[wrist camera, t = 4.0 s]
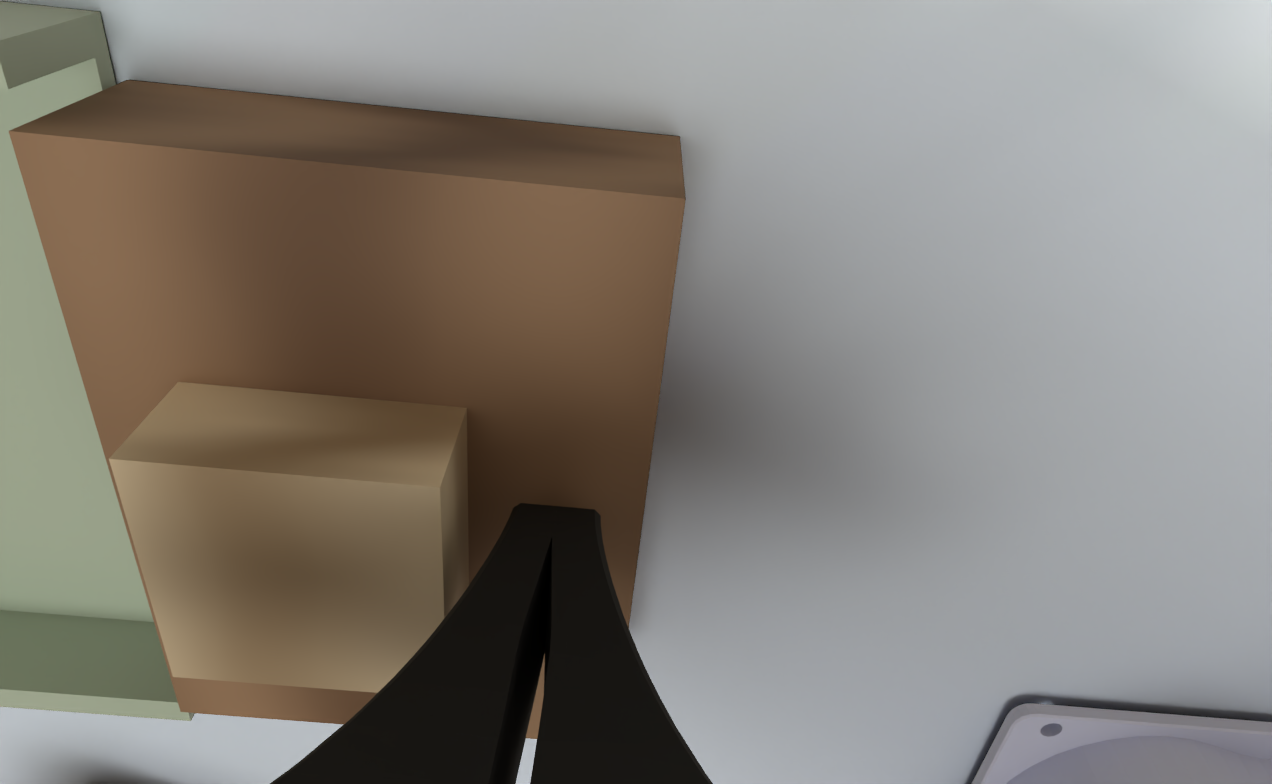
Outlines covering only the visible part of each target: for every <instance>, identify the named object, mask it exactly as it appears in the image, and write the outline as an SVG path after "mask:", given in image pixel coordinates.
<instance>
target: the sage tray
mask: <svg viewBox="0 0 1272 784" xmlns="http://www.w3.org/2000/svg"><path fill="white" fill-rule="evenodd" d="M114 85H116V82H115V78H114V73H113V69H112V64H111V60H110V55H109V51H108V46H107V42H106V37H105V33H104V28H103V24H102V19H101V15H100V12H96V11H87V10H78V9H68V8H59V7H49V6H40V5H30V4H21V3H11V2H2V1H0V707H13V708H26V709H39V710H53V711H66V712H79V713H92V714H106V715H119V716H132V717H145V718H159V719H172V720H185V721H191V719H192V718H193V716H194V714H195V713H188V712H180V708H179V705H178V701H177V698H176V695H175V691H174V688H173V685H172V681H171V678H170V674H169V671H168V668H167V664H166V661H165V658H164V654H163V651H162V647H161V644H160V641H159V637H158V634H157V631H156V627H155V624H154V620H153V617H152V614H151V610H150V607H149V604H148V600H147V597H146V593H145V590H144V587H143V583H142V580H141V577H140V573H139V570H138V566H137V563H136V560H135V556H134V553H133V550H132V546H131V543H130V539H129V536H128V533H127V529H126V526H125V523H124V519H123V516H122V512H121V509H120V506H119V502H118V499H117V496H116V492H115V489H114V485H113V482H112V479H111V475H110V472H109V469H108V465H107V462H106V458H105V455H104V452H103V448H102V445H101V442H100V438H99V435H98V431H97V428H96V425H95V421H94V418H93V415H92V411H91V408H90V404H89V401H88V398H87V394H86V391H85V388H84V384H83V381H82V377H81V374H80V371H79V367H78V364H77V361H76V357H75V354H74V351H73V347H72V344H71V340H70V337H69V334H68V330H67V327H66V324H65V320H64V317H63V313H62V310H61V307H60V303H59V300H58V297H57V293H56V290H55V286H54V283H53V280H52V276H51V273H50V270H49V266H48V263H47V259H46V256H45V253H44V249H43V246H42V243H41V239H40V236H39V232H38V229H37V226H36V222H35V219H34V216H33V212H32V209H31V205H30V202H29V199H28V195H27V192H26V189H25V185H24V182H23V178H22V175H21V172H20V168H19V165H18V162H17V158H16V155H15V151H14V148H13V145H12V141H11V138H10V135H9V131H10V130H12V129H14V128H17V127H19V126H21V125H24V124H26V123H28V122H31V121H33V120H35V119H38V118H40V117H42V116H44V115H47V114H49V113H51V112H54V111H56V110H58V109H61V108H63V107H65V106H68V105H70V104H72V103H75V102H77V101H79V100H82V99H84V98H86V97H89V96H91V95H93V94H96V93H98V92H100V91H103V90H105V89H107V88H109V87H112V86H114Z"/></svg>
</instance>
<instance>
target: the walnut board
mask: <svg viewBox="0 0 1272 784" xmlns="http://www.w3.org/2000/svg"><path fill="white" fill-rule="evenodd" d="M9 135H10V138H11V141H12V145H13V148H14V151H15V155H16V158H17V162H18V165H19V168H20V172H21V175H22V178H23V182H24V185H25V189H26V192H27V195H28V199H29V202H30V205H31V209H32V212H33V216H34V219H35V222H36V226H37V229H38V232H39V236H40V239H41V243H42V246H43V249H44V253H45V256H46V259H47V263H48V266H49V270H50V273H51V276H52V280H53V283H54V286H55V290H56V293H57V297H58V300H59V303H60V307H61V310H62V313H63V317H64V320H65V324H66V327H67V330H68V334H69V337H70V340H71V344H72V347H73V351H74V354H75V357H76V361H77V364H78V367H79V371H80V374H81V377H82V381H83V384H84V388H85V391H86V394H87V398H88V401H89V404H90V408H91V411H92V415H93V418H94V421H95V425H96V428H97V431H98V435H99V438H100V442H101V445H102V448H103V452H104V455H105V458H106V462H107V465H108V469H109V472H110V475H111V479H112V482H113V485H114V489H115V492H116V496H117V499H118V502H119V506H120V509H121V512H122V516H123V519H124V523H125V526H126V529H127V533H128V536H129V539H130V543H131V546H132V550H133V553H134V556H135V560H136V563H137V566H138V570H139V573H140V577H141V580H142V583H143V587H144V590H145V593H146V597H147V600H148V604H149V607H150V610H151V614H152V617H153V620H154V624H155V627H156V631H157V634H158V637H159V641H160V644H161V647H162V651H163V654H164V658H165V661H166V664H167V668H168V671H169V674H170V678H171V681H172V685H173V688H174V691H175V695H176V698H177V701H178V705H179V708H180V712H188V713H202V714H215V715H228V716H241V717H254V718H268V719H281V720H294V721H307V722H320V723H334V724H345V723H346V722H347V721H349V720H350V719H351V718H352V717H353V716H354V715H355V714H356V713H357V712H358V711H360V710H361V709H362V708H363V707H364V706H365V705H366V704H367V703H368V702H369V701H370V700H371V699H372V698H373V697H374V696H375V695H376V694H377V693H374V692H361V691H348V690H335V689H322V688H309V687H296V686H283V685H270V684H257V683H244V682H232V681H219V680H206V679H193V678H180V677H173V676H172V672H171V669H170V665H169V662H168V659H167V655H166V652H165V648H164V645H163V642H162V638H161V635H160V631H159V628H158V625H157V621H156V618H155V614H154V611H153V607H152V604H151V601H150V597H149V594H148V590H147V587H146V584H145V580H144V577H143V573H142V570H141V567H140V563H139V560H138V556H137V553H136V550H135V546H134V543H133V539H132V536H131V533H130V529H129V526H128V522H127V519H126V516H125V512H124V509H123V505H122V502H121V499H120V495H119V492H118V488H117V485H116V482H115V478H114V475H113V471H112V468H111V465H110V461H109V458H110V457H111V456H112V455H113V454H114V453H115V451H116V450H117V449H118V448H119V447H120V446H121V445H122V444H123V443H124V441H125V440H126V439H127V438H128V437H129V436H130V435H131V434H132V433H133V431H134V430H135V429H136V428H137V427H138V426H139V425H140V424H141V422H142V421H143V420H144V419H145V418H146V417H147V416H148V415H149V414H150V412H151V411H152V410H153V409H154V408H155V407H156V406H157V405H158V404H159V402H160V401H161V400H162V399H163V398H164V397H165V396H166V395H167V394H168V392H169V391H170V390H171V389H172V388H173V387H174V386H175V385H176V384H177V382H186V383H197V384H208V385H219V386H230V387H241V388H252V389H263V390H274V391H286V392H297V393H308V394H319V395H330V396H341V397H352V398H363V399H374V400H386V401H397V402H408V403H419V404H430V405H441V406H452V407H463V408H467V460H468V547H469V584H470V583H471V581H472V580H473V578H474V577H475V575H476V574H477V572H478V571H479V569H480V568H481V566H482V565H483V563H484V562H485V560H486V559H487V557H488V556H489V554H490V552H491V551H492V549H493V547H494V546H495V544H496V542H497V540H498V539H499V537H500V535H501V533H502V531H503V529H504V527H505V525H506V523H507V521H508V519H509V517H510V515H511V512H512V510H513V508H514V507H515V506H517V505H518V504H520V503H527V504H538V505H550V506H561V507H573V508H584V509H595V510H596V511H597V512H598V513H599V514H600V515H601V531H602V539H603V545H604V550H605V555H606V559H607V563H608V567H609V571H610V575H611V578H612V582H613V585H614V588H615V591H616V594H617V597H618V600H619V603H620V607H621V610H622V613H623V615H624V618H625V621H626V623H627V626H628V628H629V620H630V613H631V605H632V598H633V590H634V583H635V575H636V568H637V560H638V553H639V545H640V538H641V530H642V523H643V515H644V508H645V500H646V492H647V485H648V477H649V470H650V462H651V455H652V447H653V440H654V432H655V425H656V417H657V410H658V402H659V395H660V387H661V380H662V372H663V365H664V357H665V350H666V342H667V334H668V327H669V319H670V312H671V304H672V297H673V289H674V282H675V274H676V267H677V259H678V252H679V244H680V237H681V229H682V222H683V214H684V207H685V199H686V198H685V188H684V177H683V166H682V155H681V144H680V137H679V136H669V135H659V134H649V133H640V132H630V131H620V130H610V129H601V128H591V127H581V126H572V125H562V124H552V123H542V122H533V121H523V120H513V119H503V118H494V117H484V116H474V115H464V114H455V113H445V112H435V111H426V110H416V109H406V108H396V107H387V106H377V105H367V104H357V103H348V102H338V101H328V100H318V99H309V98H299V97H289V96H280V95H270V94H260V93H250V92H241V91H231V90H221V89H211V88H202V87H192V86H182V85H172V84H163V83H153V82H143V81H134V80H126V81H123V82H121V83H119V84H116V85H114V86H112V87H109V88H107V89H105V90H103V91H100V92H98V93H96V94H93V95H91V96H89V97H86V98H84V99H82V100H79V101H77V102H75V103H72V104H70V105H68V106H65V107H63V108H61V109H58V110H56V111H54V112H51V113H49V114H47V115H44V116H42V117H40V118H38V119H35V120H33V121H31V122H28V123H26V124H24V125H21V126H19V127H17V128H14V129H12V130H10V131H9ZM544 666H545V654H544V659H543V663H542V668H541V672H540V677H539V681H538V686H537V690H536V694H535V699H534V703H533V708H532V712H531V716H530V721H529V725H528V730H527V734H526V738H531V739H537V738H538V731H539V724H540V717H541V710H542V704H543V697H544Z"/></svg>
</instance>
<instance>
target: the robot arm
mask: <svg viewBox="0 0 1272 784" xmlns="http://www.w3.org/2000/svg"><path fill="white" fill-rule="evenodd" d="M544 654H545V666H544V697H543V704H542V710H541V717H540V724H539V731H538V738H537V744H536V751H535V757H534V764H533V770H532V777H531V783H530V784H713V783H712V782H711V781H710V779H709V778H708V776H707V775H706V774H705V772H704V771H703V769H702V767H701V766H700V764H699V763H698V761H697V759H696V758H695V756H694V755H693V753H692V752H691V750H690V748H689V747H688V745H687V744H686V742H685V740H684V739H683V737H682V736H681V734H680V733H679V731H678V729H677V728H676V726H675V724H674V723H673V721H672V719H671V717H670V715H669V714H668V712H667V710H666V708H665V706H664V704H663V703H662V701H661V699H660V697H659V695H658V693H657V691H656V689H655V687H654V685H653V683H652V681H651V679H650V677H649V675H648V673H647V671H646V669H645V667H644V664H643V662H642V660H641V658H640V655H639V653H638V651H637V648H636V646H635V643H634V641H633V639H632V636H631V634H630V631H629V629H628V626H627V623H626V621H625V618H624V615H623V613H622V610H621V607H620V603H619V600H618V597H617V594H616V591H615V588H614V585H613V582H612V578H611V575H610V571H609V567H608V563H607V559H606V555H605V550H604V545H603V539H602V531H601V515H600V514H599V513H598V512H597V511H596V510H595V509H584V508H573V507H561V506H550V505H538V504H527V503H520V504H518V505H517V506H515V507H514V508H513V510H512V512H511V515H510V517H509V519H508V521H507V523H506V525H505V527H504V529H503V531H502V533H501V535H500V537H499V539H498V540H497V542H496V544H495V546H494V547H493V549H492V551H491V552H490V554H489V556H488V557H487V559H486V560H485V562H484V563H483V565H482V566H481V568H480V569H479V571H478V572H477V574H476V575H475V577H474V578H473V580H472V581H471V583H470V584H469V586H468V587H467V589H466V590H465V592H464V593H463V595H462V596H461V597H460V599H459V600H458V601H457V603H456V604H455V605H454V606H453V608H452V609H451V610H450V612H449V613H448V614H447V616H446V617H445V618H444V619H443V621H442V622H441V623H440V625H439V626H438V627H437V629H436V630H435V631H434V632H433V633H432V635H431V636H430V637H429V638H428V639H427V641H426V642H425V643H424V644H423V645H422V647H421V648H420V649H419V650H418V651H417V652H416V653H415V654H414V656H413V657H412V658H411V659H410V660H409V661H408V662H407V663H406V664H405V665H404V667H403V668H402V669H401V670H400V671H399V672H398V673H397V674H396V675H395V676H394V677H393V678H392V679H391V680H390V681H389V682H388V683H387V684H386V685H385V686H384V687H383V688H382V689H381V690H380V691H379V692H378V693H377V694H376V695H375V696H374V697H373V698H372V699H371V700H370V701H369V702H368V703H367V704H366V705H365V706H364V707H363V708H362V709H361V710H360V711H358V712H357V713H356V714H355V715H354V716H353V717H352V718H351V719H350V720H349V721H347V722H346V723H345V724H344V725H343V726H342V727H340V728H339V729H338V730H337V731H336V732H334V733H333V734H332V735H331V736H330V737H329V738H327V739H326V740H325V741H324V742H323V743H321V744H320V745H319V746H318V747H317V748H315V749H314V750H313V751H312V752H311V753H309V754H308V755H307V756H306V757H305V758H304V759H302V760H301V761H300V762H298V763H297V764H296V765H295V766H293V767H292V768H291V769H290V770H288V771H287V772H285V773H284V774H283V775H281V776H280V777H279V778H277V779H276V780H274V781H273V782H272V783H270V784H515V783H516V778H517V774H518V769H519V765H520V760H521V756H522V752H523V747H524V743H525V738H526V734H527V730H528V725H529V721H530V716H531V712H532V708H533V703H534V699H535V694H536V690H537V686H538V681H539V677H540V672H541V668H542V663H543V659H544ZM972 784H1272V722H1263V721H1250V720H1237V719H1225V718H1212V717H1199V716H1187V715H1174V714H1162V713H1149V712H1136V711H1124V710H1111V709H1098V708H1086V707H1073V706H1060V705H1048V704H1035V703H1027V704H1022V705H1018V706H1016V707H1015V708H1013V709H1012V710H1011V711H1010V712H1009V713H1008V715H1007V716H1006V718H1005V720H1004V722H1003V724H1002V726H1001V728H1000V730H999V732H998V734H997V736H996V737H995V739H994V741H993V743H992V745H991V747H990V749H989V751H988V753H987V755H986V757H985V759H984V761H983V763H982V765H981V766H980V768H979V770H978V772H977V774H976V776H975V778H974V780H973V782H972Z"/></svg>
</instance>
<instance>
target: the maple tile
mask: <svg viewBox="0 0 1272 784" xmlns="http://www.w3.org/2000/svg"><path fill="white" fill-rule="evenodd" d="M109 461H110V465H111V468H112V471H113V475H114V478H115V482H116V485H117V488H118V492H119V495H120V499H121V502H122V505H123V509H124V512H125V516H126V519H127V522H128V526H129V529H130V533H131V536H132V539H133V543H134V546H135V550H136V553H137V556H138V560H139V563H140V567H141V570H142V573H143V577H144V580H145V584H146V587H147V590H148V594H149V597H150V601H151V604H152V607H153V611H154V614H155V618H156V621H157V625H158V628H159V631H160V635H161V638H162V642H163V645H164V648H165V652H166V655H167V659H168V662H169V665H170V669H171V672H172V676H173V677H180V678H193V679H206V680H219V681H232V682H244V683H257V684H270V685H283V686H296V687H309V688H322V689H335V690H348V691H361V692H374V693H378V692H379V691H380V690H381V689H382V688H383V687H384V686H385V685H386V684H387V683H388V682H389V681H390V680H391V679H392V678H393V677H394V676H395V675H396V674H397V673H398V672H399V671H400V670H401V669H402V668H403V667H404V665H405V664H406V663H407V662H408V661H409V660H410V659H411V658H412V657H413V656H414V654H415V653H416V652H417V651H418V650H419V649H420V648H421V647H422V645H423V644H424V643H425V642H426V641H427V639H428V638H429V637H430V636H431V635H432V633H433V632H434V631H435V630H436V629H437V627H438V626H439V625H440V623H441V622H442V621H443V619H444V618H445V617H446V616H447V614H448V613H449V612H450V610H451V609H452V608H453V606H454V605H455V604H456V603H457V601H458V600H459V599H460V597H461V596H462V595H463V593H464V592H465V590H466V589H467V587H468V586H469V547H468V460H467V408H463V407H452V406H441V405H430V404H419V403H408V402H397V401H386V400H374V399H363V398H352V397H341V396H330V395H319V394H308V393H297V392H286V391H274V390H263V389H252V388H241V387H230V386H219V385H208V384H197V383H186V382H177V384H176V385H175V386H174V387H173V388H172V389H171V390H170V391H169V392H168V394H167V395H166V396H165V397H164V398H163V399H162V400H161V401H160V402H159V404H158V405H157V406H156V407H155V408H154V409H153V410H152V411H151V412H150V414H149V415H148V416H147V417H146V418H145V419H144V420H143V421H142V422H141V424H140V425H139V426H138V427H137V428H136V429H135V430H134V431H133V433H132V434H131V435H130V436H129V437H128V438H127V439H126V440H125V441H124V443H123V444H122V445H121V446H120V447H119V448H118V449H117V450H116V451H115V453H114V454H113V455H112V456H111V457H110V458H109Z"/></svg>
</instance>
